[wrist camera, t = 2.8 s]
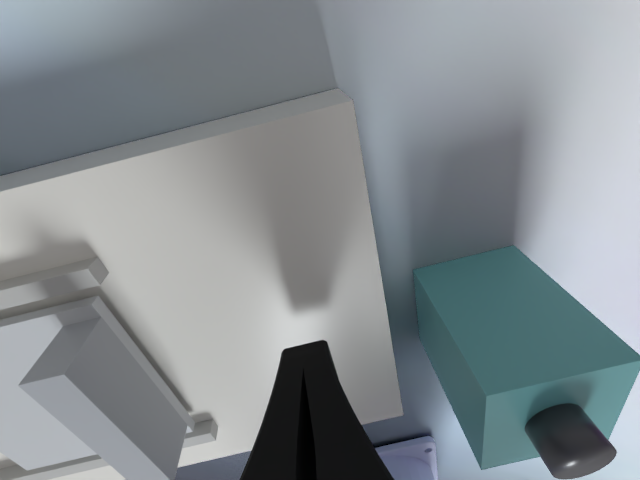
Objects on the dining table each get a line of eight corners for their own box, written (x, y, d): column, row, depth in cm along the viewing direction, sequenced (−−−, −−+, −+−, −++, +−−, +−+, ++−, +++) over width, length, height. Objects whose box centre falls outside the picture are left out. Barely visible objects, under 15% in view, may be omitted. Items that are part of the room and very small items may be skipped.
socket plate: (388, 369, 18) (408, 428, 15) (-39, 470, 18) (-93, 542, 16) (337, 88, 10) (358, 104, 8) (-370, 272, 11) (-577, 346, 8)
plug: (505, 317, 17) (639, 480, 10) (419, 338, 17) (500, 511, 10) (513, 244, 14) (690, 399, 8) (412, 269, 14) (512, 440, 8)
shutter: (195, 421, 14) (180, 489, 12) (33, 459, 14) (-11, 533, 12) (98, 295, 10) (51, 361, 8) (-121, 349, 10) (-222, 427, 8)
